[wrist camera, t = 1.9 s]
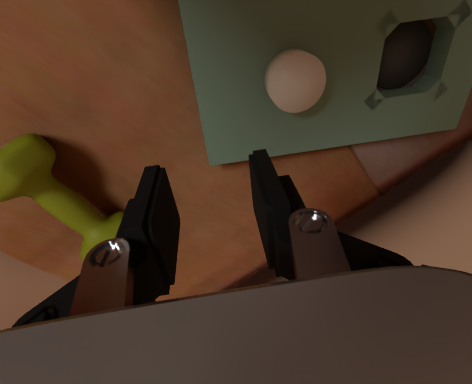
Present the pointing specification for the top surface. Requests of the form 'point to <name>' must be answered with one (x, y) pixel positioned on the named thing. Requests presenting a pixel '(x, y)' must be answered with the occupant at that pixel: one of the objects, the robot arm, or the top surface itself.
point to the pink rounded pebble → (294, 80)
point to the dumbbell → (51, 190)
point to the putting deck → (327, 71)
